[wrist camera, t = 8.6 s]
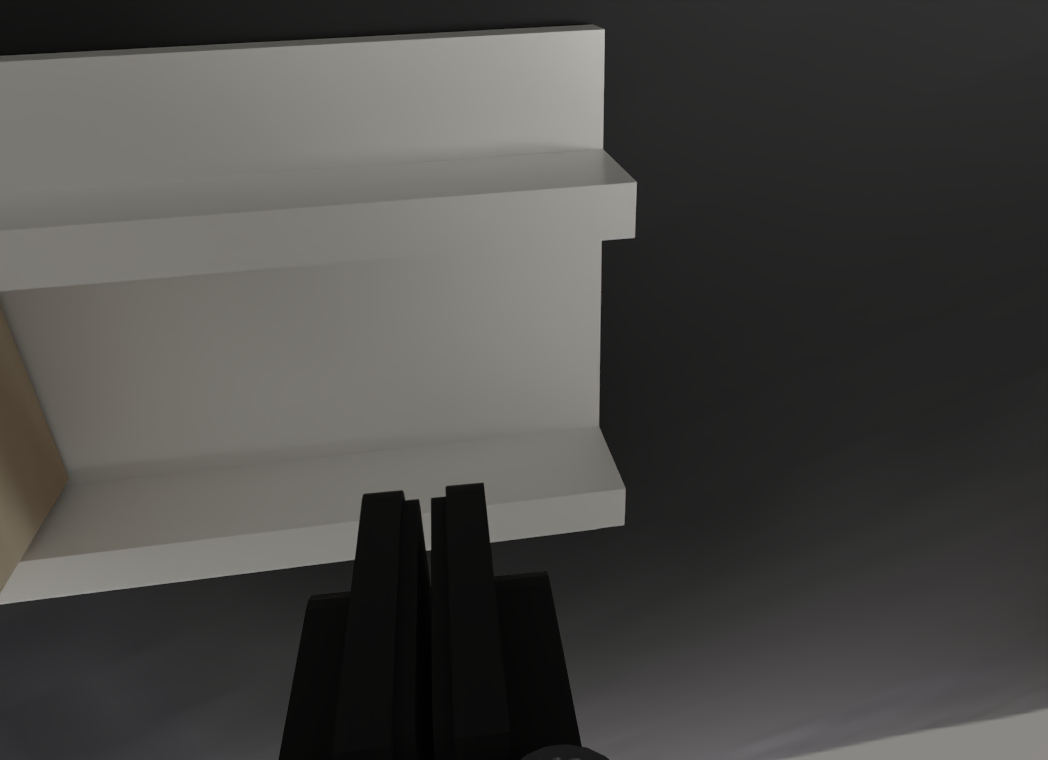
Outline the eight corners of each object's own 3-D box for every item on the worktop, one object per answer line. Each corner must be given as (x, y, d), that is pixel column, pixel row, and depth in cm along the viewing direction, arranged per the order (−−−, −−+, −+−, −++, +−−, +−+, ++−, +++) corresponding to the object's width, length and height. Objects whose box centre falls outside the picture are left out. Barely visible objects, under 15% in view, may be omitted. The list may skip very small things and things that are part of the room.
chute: (592, 24, 15) (645, 45, 12) (589, 505, 21) (624, 604, 18) (-368, 75, 14) (-601, 116, 10) (-80, 587, 19) (-173, 714, 16)
